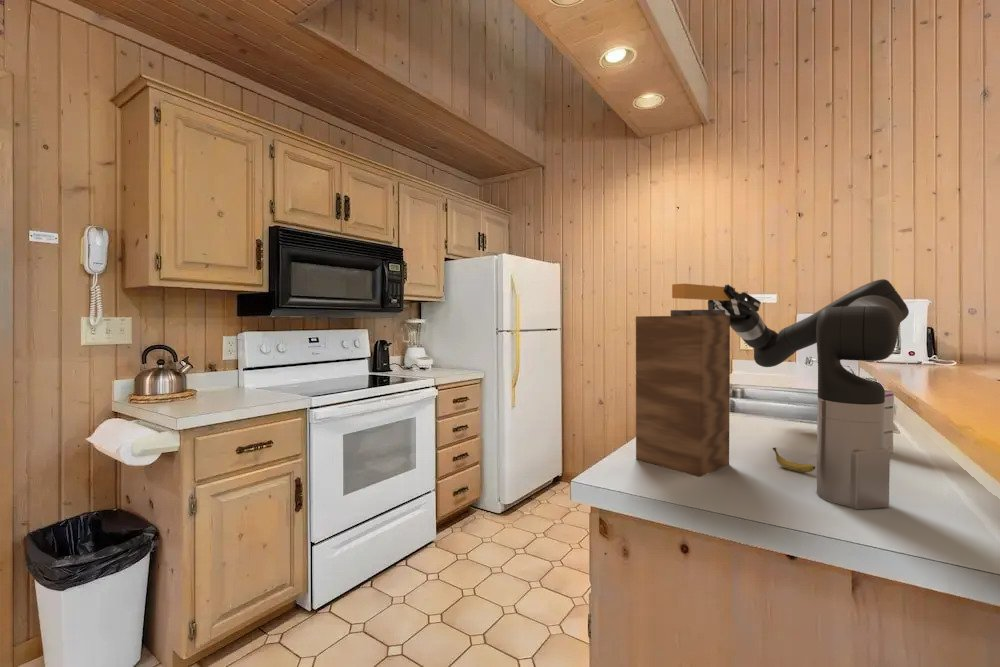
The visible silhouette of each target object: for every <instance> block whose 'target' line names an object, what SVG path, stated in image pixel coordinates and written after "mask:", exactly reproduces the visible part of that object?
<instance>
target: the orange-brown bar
mask: <svg viewBox="0 0 1000 667" xmlns="http://www.w3.org/2000/svg"><path fill="white" fill-rule="evenodd" d="M671 286H672V287H671V290H672V291H671V298H672V299H678V300H679V299H683V300H684V299H685V300H702V301H706V300H707V301H708V300H720V301H726V300H731V299H729V297H728V296H727V295H726V294H725V292H724V288H725V286H717V285H714V286H711V285H706V284H694V283H675V284H674V283H672V285H671ZM733 289H734V290H735V291H736V287H733Z"/></svg>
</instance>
